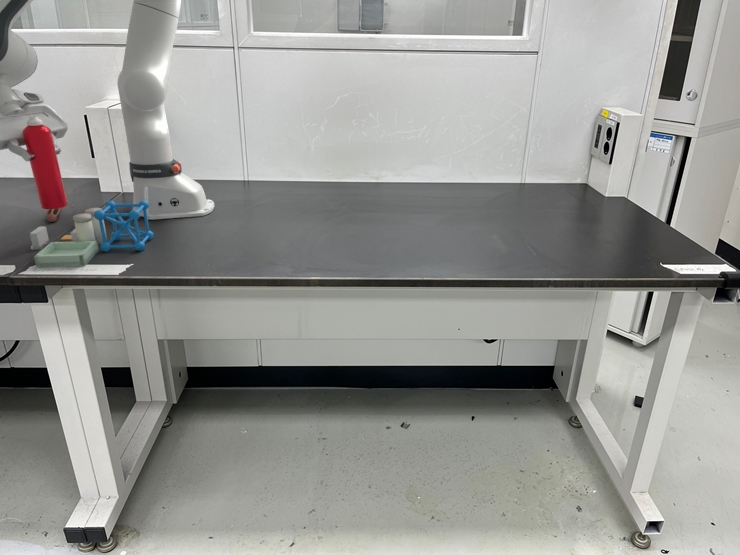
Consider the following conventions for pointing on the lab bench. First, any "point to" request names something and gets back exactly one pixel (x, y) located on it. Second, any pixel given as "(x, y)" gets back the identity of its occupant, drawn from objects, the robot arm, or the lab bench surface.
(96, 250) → the assorted small pieces
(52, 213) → the screwdriver
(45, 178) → the bottle
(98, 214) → the molecular structure
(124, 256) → the lab bench surface
